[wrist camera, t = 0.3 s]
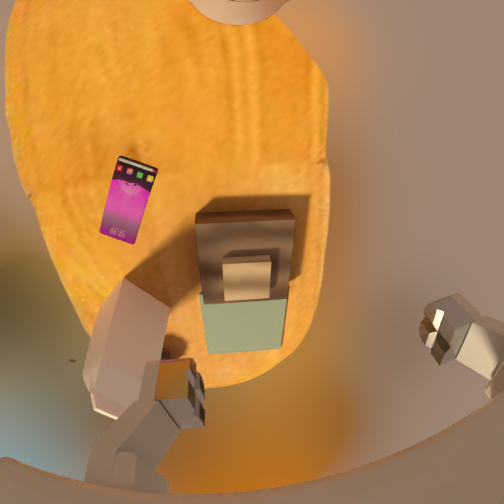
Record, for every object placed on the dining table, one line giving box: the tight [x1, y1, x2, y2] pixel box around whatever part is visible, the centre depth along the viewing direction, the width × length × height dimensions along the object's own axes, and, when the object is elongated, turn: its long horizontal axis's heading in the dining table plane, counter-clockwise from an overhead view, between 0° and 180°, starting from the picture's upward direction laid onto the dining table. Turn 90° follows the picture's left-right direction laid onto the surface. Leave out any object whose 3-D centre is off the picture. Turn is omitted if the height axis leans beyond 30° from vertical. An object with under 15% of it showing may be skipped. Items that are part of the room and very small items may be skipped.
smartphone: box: [100, 156, 158, 244], centre depth 44 cm, size 7×15×1 cm, turn 154°
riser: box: [195, 209, 296, 305], centre depth 51 cm, size 17×16×4 cm
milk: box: [83, 278, 170, 420], centre depth 46 cm, size 12×12×26 cm
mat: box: [199, 293, 287, 354], centre depth 63 cm, size 20×18×1 cm
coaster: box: [222, 255, 271, 301], centre depth 49 cm, size 8×8×2 cm
